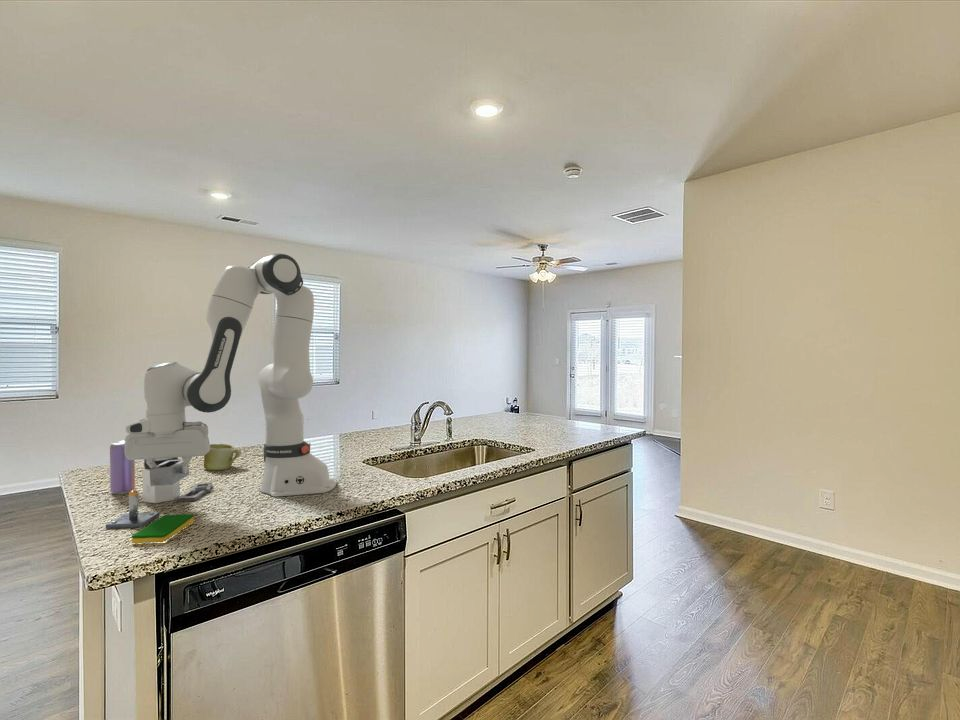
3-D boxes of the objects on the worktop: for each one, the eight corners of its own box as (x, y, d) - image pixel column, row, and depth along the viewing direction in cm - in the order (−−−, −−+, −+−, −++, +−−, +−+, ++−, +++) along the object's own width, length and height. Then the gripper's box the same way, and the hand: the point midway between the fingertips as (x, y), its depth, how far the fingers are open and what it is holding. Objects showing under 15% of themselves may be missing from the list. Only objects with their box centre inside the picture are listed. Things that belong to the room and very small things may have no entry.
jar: (136, 501, 137) (135, 459, 137) (162, 493, 145) (162, 453, 144) (160, 504, 134) (159, 461, 134) (186, 496, 142) (185, 455, 142)
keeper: (159, 516, 125) (159, 485, 125) (141, 527, 117) (141, 495, 117) (126, 517, 124) (125, 486, 124) (105, 528, 117) (105, 496, 116)
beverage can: (122, 495, 142) (121, 444, 142) (105, 494, 143) (104, 443, 143) (140, 489, 148) (139, 440, 148) (123, 488, 149) (123, 439, 149)
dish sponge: (194, 523, 122) (194, 513, 122) (164, 545, 108) (164, 534, 108) (164, 523, 121) (164, 514, 121) (130, 546, 107) (130, 535, 107)
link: (189, 474, 136) (188, 459, 135) (172, 484, 127) (171, 468, 126) (168, 475, 135) (167, 460, 135) (150, 485, 126) (149, 469, 126)
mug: (191, 466, 169) (202, 438, 172) (210, 468, 179) (221, 442, 182) (220, 475, 167) (231, 446, 169) (238, 476, 176) (249, 450, 179)
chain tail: (220, 485, 153) (220, 479, 153) (197, 500, 138) (197, 494, 138) (196, 485, 152) (196, 479, 152) (171, 501, 137) (171, 494, 137)
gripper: (212, 419, 134) (215, 468, 135) (133, 422, 132) (137, 472, 133) (202, 423, 128) (205, 474, 129) (118, 427, 126) (122, 479, 126)
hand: (170, 473), depth 131 cm, fingers closed on link, 5 cm apart
